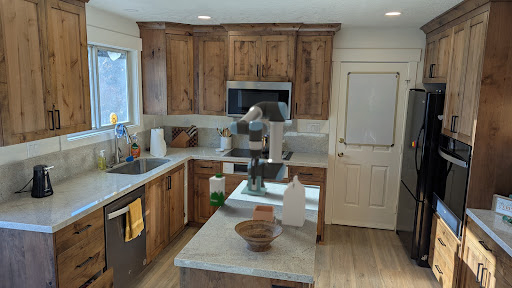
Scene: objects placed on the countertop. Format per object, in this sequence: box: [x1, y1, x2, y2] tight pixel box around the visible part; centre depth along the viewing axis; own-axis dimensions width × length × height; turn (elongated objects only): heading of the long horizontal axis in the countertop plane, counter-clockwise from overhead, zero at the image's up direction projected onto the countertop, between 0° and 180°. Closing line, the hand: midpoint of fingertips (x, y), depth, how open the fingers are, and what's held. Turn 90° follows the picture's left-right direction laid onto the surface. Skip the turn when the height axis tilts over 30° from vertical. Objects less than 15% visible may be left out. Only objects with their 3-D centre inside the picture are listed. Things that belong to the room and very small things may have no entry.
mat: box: [224, 206, 254, 219], centre depth 209 cm, size 16×16×1 cm
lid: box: [240, 175, 268, 196], centre depth 200 cm, size 13×13×9 cm
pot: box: [252, 204, 275, 223], centre depth 199 cm, size 11×11×7 cm
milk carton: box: [208, 172, 226, 208], centre depth 221 cm, size 9×9×20 cm
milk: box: [281, 175, 306, 228], centre depth 196 cm, size 12×12×26 cm
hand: (254, 189), depth 200 cm, fingers closed on lid, 2 cm apart
